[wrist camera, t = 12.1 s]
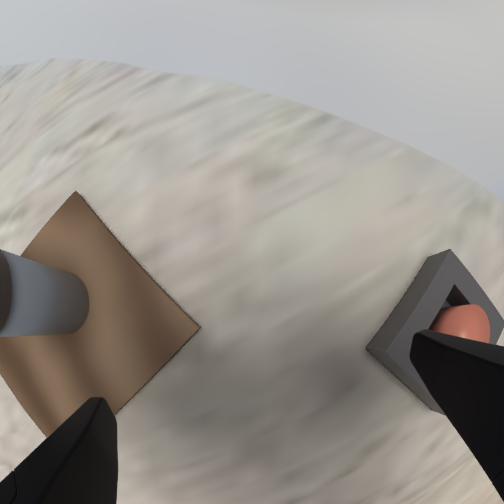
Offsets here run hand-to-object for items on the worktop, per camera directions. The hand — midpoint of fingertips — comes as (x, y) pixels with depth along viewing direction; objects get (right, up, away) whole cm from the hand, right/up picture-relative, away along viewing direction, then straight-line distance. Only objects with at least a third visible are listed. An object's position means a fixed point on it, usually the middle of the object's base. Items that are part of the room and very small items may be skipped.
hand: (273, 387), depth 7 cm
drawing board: (-15, -2, +11) cm, 18 cm away
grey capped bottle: (-14, 0, +11) cm, 17 cm away
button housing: (+14, -3, +13) cm, 19 cm away
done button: (+14, -3, +11) cm, 18 cm away
